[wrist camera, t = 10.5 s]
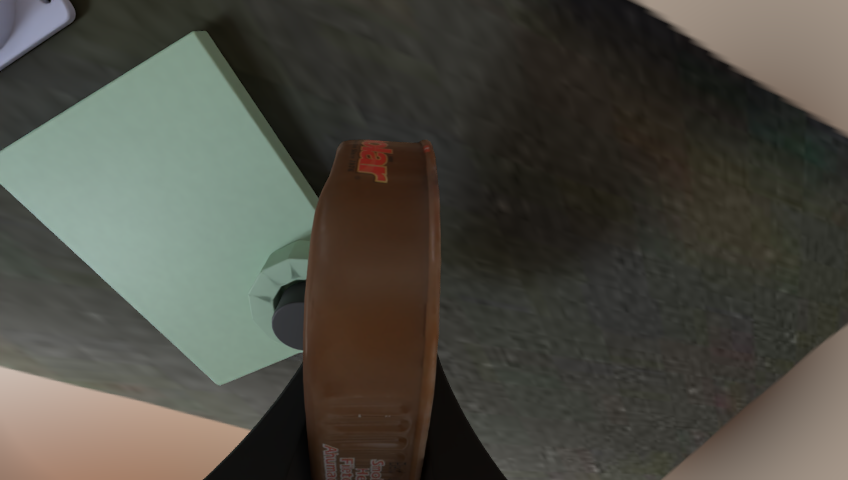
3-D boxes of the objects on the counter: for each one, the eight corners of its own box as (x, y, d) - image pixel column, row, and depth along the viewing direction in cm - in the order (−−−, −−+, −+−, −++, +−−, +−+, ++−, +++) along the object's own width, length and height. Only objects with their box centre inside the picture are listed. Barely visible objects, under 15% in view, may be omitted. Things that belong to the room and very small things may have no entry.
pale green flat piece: (2, 156, 19) (-64, 178, 16) (215, 24, 16) (179, 25, 14) (226, 372, 26) (205, 411, 23) (396, 300, 24) (394, 335, 21)
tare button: (269, 294, 20) (257, 317, 18) (320, 271, 19) (312, 292, 18) (303, 334, 21) (295, 359, 20) (352, 314, 21) (348, 337, 19)
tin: (398, 405, 21) (417, 620, 13) (335, 409, 20) (321, 634, 13) (424, 107, 13) (499, 235, 6) (326, 101, 13) (279, 233, 5)
